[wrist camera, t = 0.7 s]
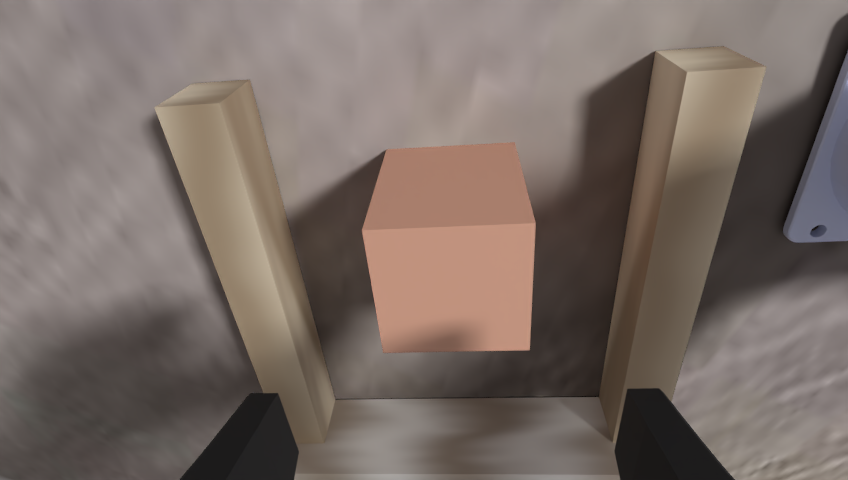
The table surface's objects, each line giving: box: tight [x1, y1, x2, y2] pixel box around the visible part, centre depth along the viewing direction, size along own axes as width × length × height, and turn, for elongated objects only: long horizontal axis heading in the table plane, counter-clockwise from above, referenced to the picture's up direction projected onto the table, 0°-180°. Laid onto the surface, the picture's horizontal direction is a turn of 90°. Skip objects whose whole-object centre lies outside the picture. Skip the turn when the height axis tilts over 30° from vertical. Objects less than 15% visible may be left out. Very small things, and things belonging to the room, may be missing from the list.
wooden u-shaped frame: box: [154, 46, 766, 480], centre depth 19 cm, size 17×18×4 cm
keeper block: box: [362, 142, 536, 353], centre depth 16 cm, size 4×4×6 cm
